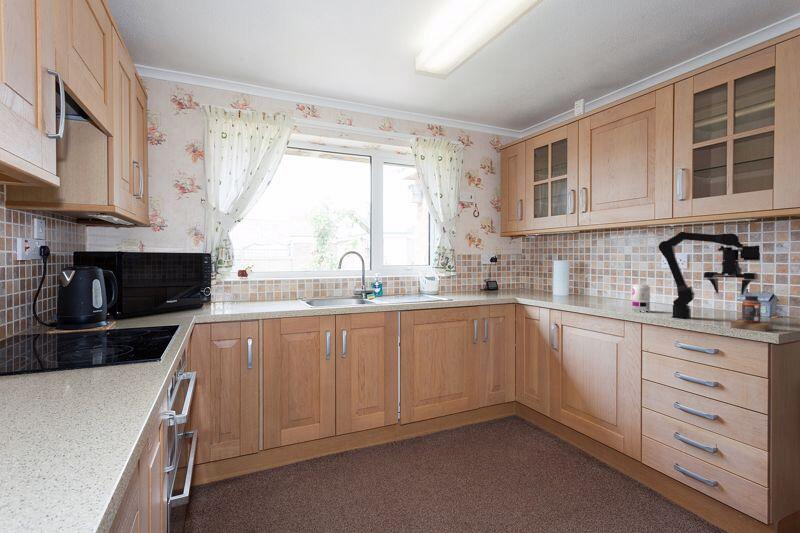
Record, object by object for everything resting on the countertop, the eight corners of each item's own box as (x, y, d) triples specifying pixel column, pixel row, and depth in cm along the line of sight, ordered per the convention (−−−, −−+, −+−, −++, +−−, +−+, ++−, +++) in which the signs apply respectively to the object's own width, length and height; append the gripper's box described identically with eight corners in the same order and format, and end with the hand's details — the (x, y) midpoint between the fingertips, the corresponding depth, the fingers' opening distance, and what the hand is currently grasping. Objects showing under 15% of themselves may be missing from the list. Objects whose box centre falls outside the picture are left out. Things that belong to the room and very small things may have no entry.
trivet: (730, 327, 170) (731, 321, 170) (739, 325, 177) (739, 319, 177) (765, 331, 161) (765, 324, 161) (772, 328, 168) (772, 322, 168)
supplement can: (630, 311, 220) (631, 284, 219) (634, 310, 226) (634, 283, 226) (647, 312, 214) (648, 285, 214) (650, 311, 221) (651, 284, 220)
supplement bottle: (762, 323, 165) (762, 296, 165) (743, 322, 168) (743, 295, 168) (758, 321, 170) (759, 295, 170) (740, 320, 173) (741, 294, 173)
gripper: (761, 260, 182) (760, 294, 182) (711, 260, 197) (711, 291, 197) (754, 260, 175) (753, 296, 176) (703, 260, 191) (703, 292, 191)
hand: (729, 294), depth 185 cm, fingers open, 9 cm apart
